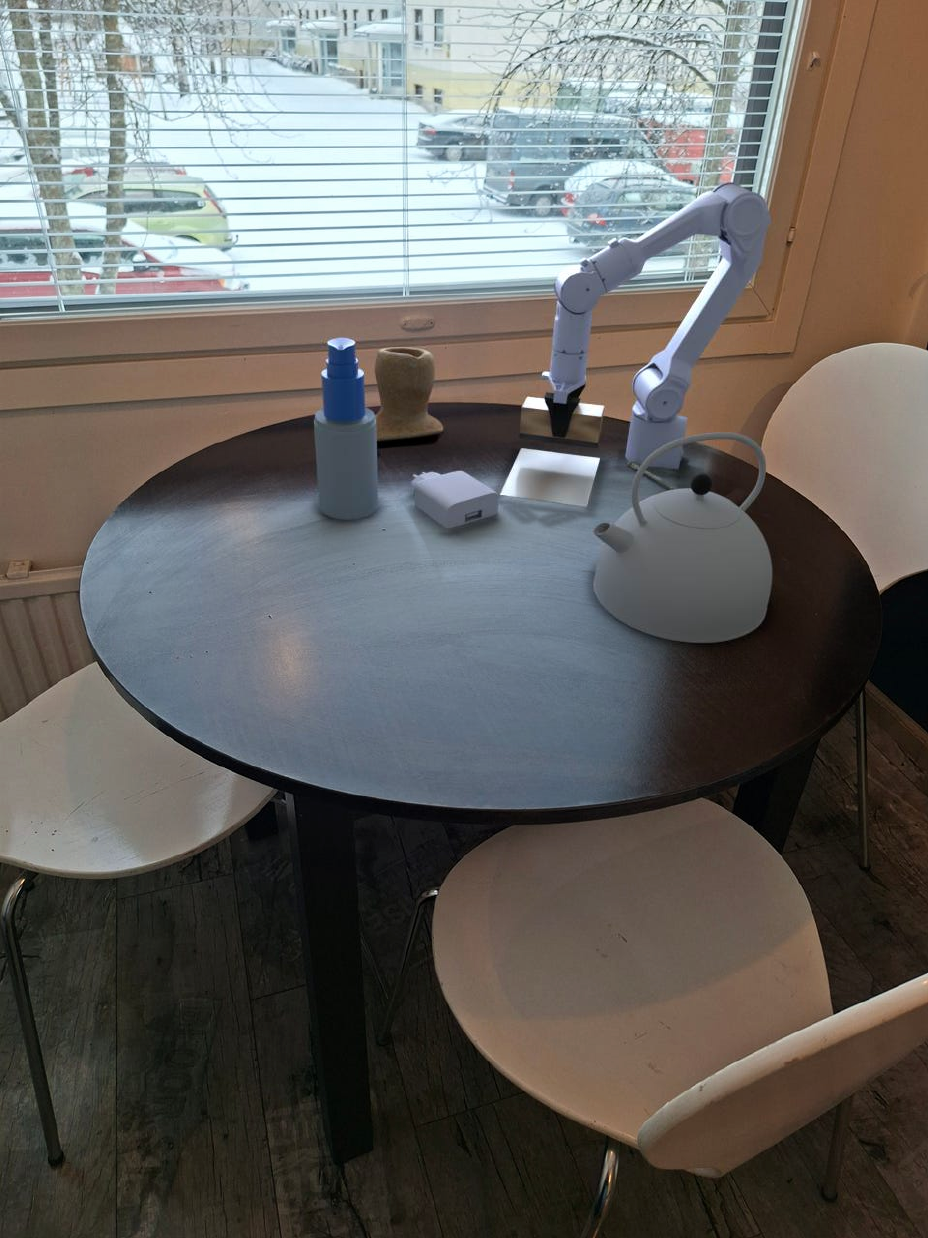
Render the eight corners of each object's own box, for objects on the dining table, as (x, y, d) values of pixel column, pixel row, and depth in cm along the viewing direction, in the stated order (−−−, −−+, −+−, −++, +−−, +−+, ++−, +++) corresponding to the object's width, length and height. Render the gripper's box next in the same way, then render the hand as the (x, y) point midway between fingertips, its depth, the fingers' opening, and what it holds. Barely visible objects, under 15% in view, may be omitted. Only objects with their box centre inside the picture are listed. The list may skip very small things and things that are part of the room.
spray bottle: (327, 490, 137) (317, 329, 123) (383, 494, 137) (379, 333, 123) (313, 517, 130) (301, 349, 116) (372, 521, 129) (367, 354, 115)
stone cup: (427, 416, 164) (428, 336, 155) (449, 441, 155) (451, 357, 146) (348, 425, 159) (345, 342, 150) (366, 451, 150) (364, 365, 141)
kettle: (618, 656, 104) (648, 484, 91) (553, 560, 122) (570, 405, 109) (801, 630, 110) (853, 465, 97) (713, 542, 128) (747, 393, 115)
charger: (442, 481, 141) (497, 519, 131) (393, 494, 137) (447, 534, 127) (442, 454, 139) (499, 490, 129) (393, 467, 134) (448, 505, 124)
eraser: (600, 437, 147) (604, 405, 144) (597, 448, 143) (601, 416, 140) (524, 427, 149) (527, 396, 146) (519, 438, 145) (521, 406, 142)
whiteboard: (603, 462, 150) (604, 457, 149) (590, 515, 134) (590, 509, 133) (517, 451, 152) (518, 445, 152) (494, 501, 136) (494, 495, 136)
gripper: (551, 332, 144) (544, 411, 152) (537, 359, 132) (530, 443, 140) (594, 337, 143) (585, 416, 151) (583, 365, 131) (573, 449, 139)
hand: (561, 430), depth 145 cm, fingers closed on eraser, 5 cm apart
